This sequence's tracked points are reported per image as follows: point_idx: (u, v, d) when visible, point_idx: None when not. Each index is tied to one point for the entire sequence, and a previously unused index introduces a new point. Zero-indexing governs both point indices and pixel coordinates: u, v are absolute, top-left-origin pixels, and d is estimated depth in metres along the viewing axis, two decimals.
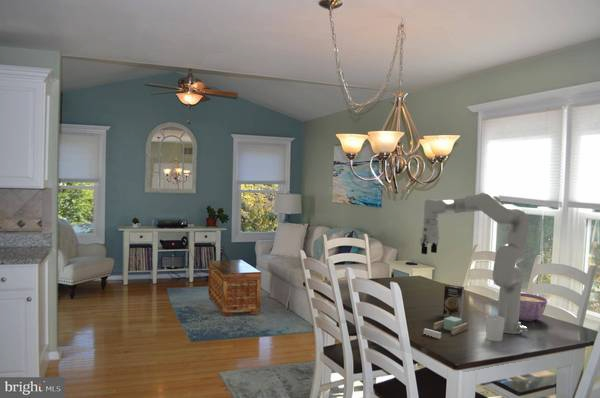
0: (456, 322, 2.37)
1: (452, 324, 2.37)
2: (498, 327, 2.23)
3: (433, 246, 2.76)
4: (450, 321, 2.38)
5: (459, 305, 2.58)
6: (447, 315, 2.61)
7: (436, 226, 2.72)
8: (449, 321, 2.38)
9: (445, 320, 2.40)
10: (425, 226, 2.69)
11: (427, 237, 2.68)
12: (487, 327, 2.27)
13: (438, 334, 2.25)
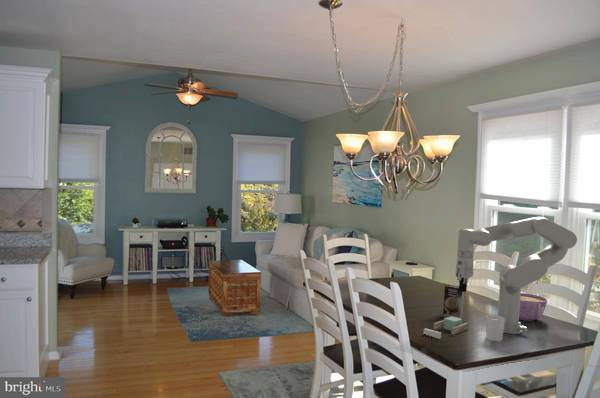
0: (456, 322, 2.37)
1: (452, 324, 2.37)
2: (498, 327, 2.23)
3: None
4: (450, 321, 2.38)
5: (459, 305, 2.58)
6: (447, 315, 2.61)
7: (472, 258, 2.45)
8: (449, 321, 2.39)
9: (445, 320, 2.40)
10: (459, 259, 2.43)
11: (462, 276, 2.42)
12: (487, 327, 2.27)
13: (438, 334, 2.25)
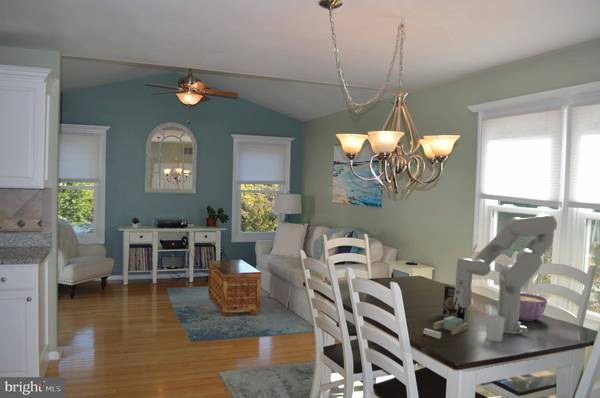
0: (456, 322, 2.37)
1: (452, 324, 2.37)
2: (498, 327, 2.23)
3: None
4: (450, 321, 2.38)
5: None
6: (447, 315, 2.61)
7: (470, 287, 2.46)
8: (449, 321, 2.39)
9: (445, 320, 2.40)
10: (457, 288, 2.43)
11: (460, 305, 2.42)
12: (487, 327, 2.27)
13: (438, 334, 2.25)
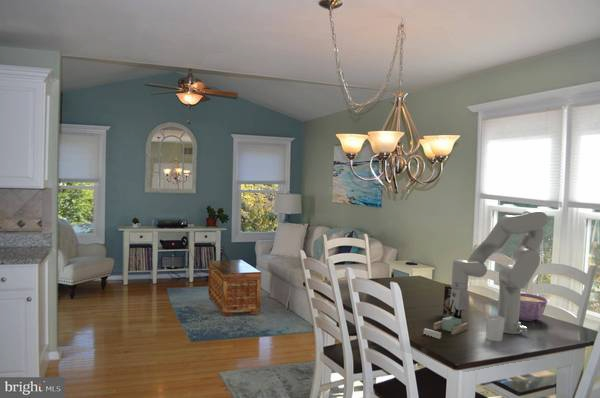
0: (454, 322, 2.36)
1: (450, 324, 2.37)
2: (498, 327, 2.23)
3: None
4: (448, 321, 2.37)
5: None
6: (447, 315, 2.61)
7: (466, 290, 2.43)
8: (447, 321, 2.38)
9: (443, 320, 2.39)
10: (453, 291, 2.40)
11: (456, 308, 2.40)
12: (487, 327, 2.27)
13: (438, 334, 2.25)
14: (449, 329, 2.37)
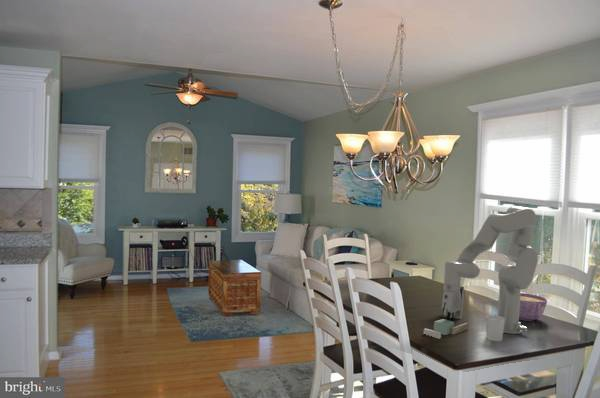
0: (447, 325, 2.31)
1: (442, 327, 2.31)
2: (498, 327, 2.23)
3: None
4: (440, 324, 2.32)
5: None
6: None
7: (458, 292, 2.38)
8: (439, 324, 2.32)
9: (436, 323, 2.34)
10: (446, 293, 2.35)
11: None
12: (487, 327, 2.27)
13: (438, 334, 2.25)
14: (442, 332, 2.31)
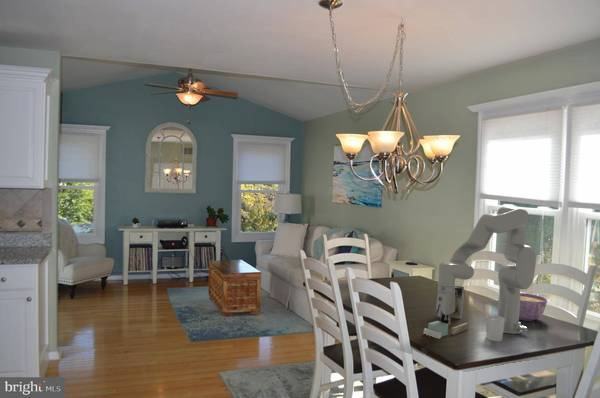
0: (440, 327, 2.27)
1: (436, 329, 2.27)
2: (498, 327, 2.23)
3: None
4: (434, 326, 2.28)
5: (459, 305, 2.58)
6: None
7: (453, 293, 2.34)
8: (433, 326, 2.29)
9: (429, 325, 2.30)
10: (440, 295, 2.31)
11: (443, 313, 2.31)
12: (487, 327, 2.27)
13: (438, 334, 2.25)
14: None
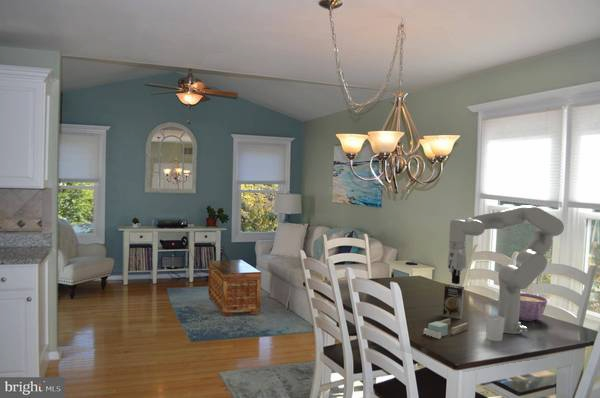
0: (441, 328, 2.27)
1: (437, 330, 2.27)
2: (498, 327, 2.23)
3: None
4: (434, 326, 2.28)
5: (459, 305, 2.58)
6: (447, 315, 2.61)
7: (464, 250, 2.39)
8: (433, 326, 2.28)
9: (429, 325, 2.30)
10: (451, 250, 2.36)
11: None
12: (487, 327, 2.27)
13: (438, 334, 2.25)
14: None
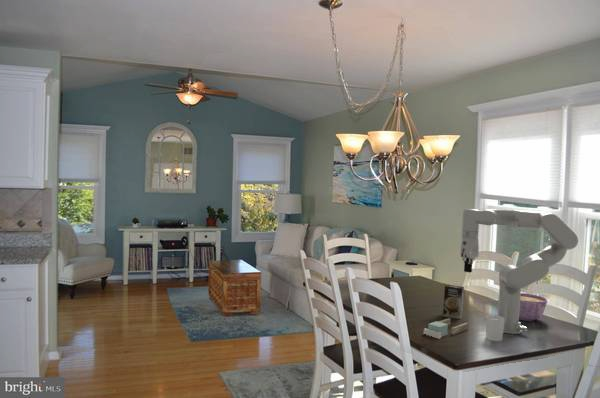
0: (441, 328, 2.27)
1: (437, 330, 2.27)
2: (498, 327, 2.23)
3: None
4: (435, 326, 2.28)
5: (459, 305, 2.58)
6: (447, 315, 2.61)
7: (476, 239, 2.43)
8: (434, 326, 2.28)
9: (430, 325, 2.30)
10: (464, 239, 2.40)
11: (467, 256, 2.40)
12: (487, 327, 2.27)
13: (438, 334, 2.25)
14: None
